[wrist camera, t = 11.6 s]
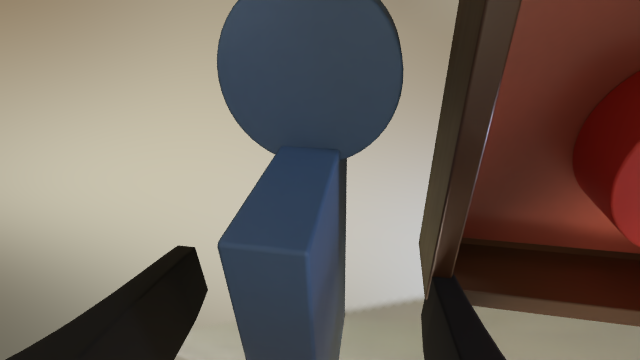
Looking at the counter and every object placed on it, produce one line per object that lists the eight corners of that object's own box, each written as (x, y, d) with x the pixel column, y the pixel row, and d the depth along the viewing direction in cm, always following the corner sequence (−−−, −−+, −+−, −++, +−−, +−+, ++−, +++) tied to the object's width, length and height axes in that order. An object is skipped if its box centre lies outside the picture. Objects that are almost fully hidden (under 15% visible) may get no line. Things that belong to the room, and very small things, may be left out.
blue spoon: (376, 320, 14) (370, 487, 10) (279, 307, 15) (228, 455, 10) (409, -33, 8) (442, -54, 3) (232, -26, 8) (30, -33, 4)
